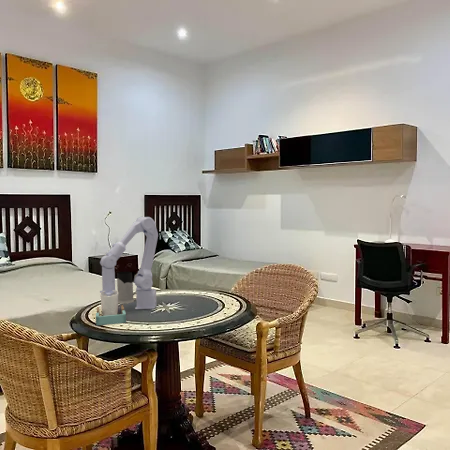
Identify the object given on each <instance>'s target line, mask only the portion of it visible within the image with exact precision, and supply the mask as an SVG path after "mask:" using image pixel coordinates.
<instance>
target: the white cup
mask: <svg viewBox="0 0 450 450" xmlns="http://www.w3.org/2000/svg"><path fill="white" fill-rule="evenodd" d="M115 290H116V289H115ZM115 290H112V291H114V293H113V294H111V296H107V295H106V294H104V292H106V291H103V290H102V291H103V292H101V293H100V292H99V293H100V294H99V295H100V304H101V312H102V316H108V315H118V314H119V313H118V312H119V311H118V310H119V303H118V290H116V291H115Z"/></svg>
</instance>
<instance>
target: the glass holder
mask: <svg viewBox="0 0 450 450" xmlns="http://www.w3.org/2000/svg"><path fill="white" fill-rule="evenodd" d="M137 274H138V273H136V274H134V278H133V273H132V272H131V271H122V272H117V273H116V277H117V279H116V285H117V286H116V288H117V291H118V304H120V305H125V304H131V303H134V302H135V299H134V295H135V294H136V290H135V291H134V284H135V283H134V280H135V277H136V276H137ZM133 283H134V284H133Z"/></svg>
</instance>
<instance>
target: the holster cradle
mask: <svg viewBox="0 0 450 450" xmlns="http://www.w3.org/2000/svg"><path fill="white" fill-rule="evenodd" d="M120 310H121V311H120V312H121V313H122V310H125V307H124V304H120ZM96 313H99V314H100V306H96Z"/></svg>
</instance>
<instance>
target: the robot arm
mask: <svg viewBox="0 0 450 450" xmlns="http://www.w3.org/2000/svg"><path fill="white" fill-rule="evenodd" d="M156 225H157V223H156V221H155V220H154V219H153V218H152V217H150V216H140V217H137V218H136V219H135V221H134V222H133V223H132V224H131V225H130V227H129V228H128V230H127V231H126V232H125V234H124V235H123V237H122V238H121V239H120V241H118V242H117V241H116V242H115V243H112V244H111V248H110V249H108V251H106V252H105V255H103V256H102V257H101V259H100V261H99V264H100V266H101V280H102V281H101V282H102V284H101V285H102V286H101V287H102V290H99V293H101V292H103V291H106V292H104V294H106V295H107V296H111V294H113V293H114V291H112V290H115V291H117V290H116V272H115V266H117V261H118V260H119V259H120V258H121V256H122V255H123V253H125V251H126V248H127V247H126V246H127V244H129V242H130V241H131V240H132V239H134V237H135V236H136V235H137V234H139V233H142V232H143V235H144V236H146V237H145V238H146V239H145V245H144V249H143V253H142V258H141V264H140V269H138V271H137V273H136V274H137V275H136V277H135V276H134V277H135V280H134V279H133V282H134V285H135V286H136V289H135V291H136V293H135V294H136V295H135V296H136V306H135V307H134V310H152V309H156V307H157V289H155V288H152V287H153V283H154V282H153V273H152V269H153V262H154V259H155V253H156V248H157V243H158V239H159V238H158V237H159V233H158V229H157V226H156Z"/></svg>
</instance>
